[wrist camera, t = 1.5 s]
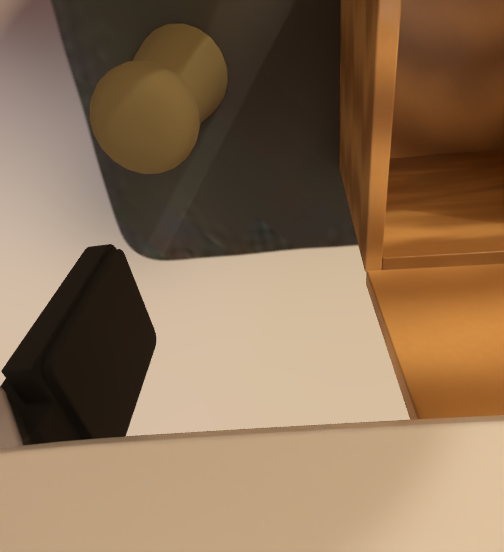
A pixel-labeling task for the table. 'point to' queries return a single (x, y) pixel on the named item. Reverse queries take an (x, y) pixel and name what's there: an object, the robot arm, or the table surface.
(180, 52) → the olive tapered piece
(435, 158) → the wooden bin
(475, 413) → the bin lid
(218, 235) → the table surface
